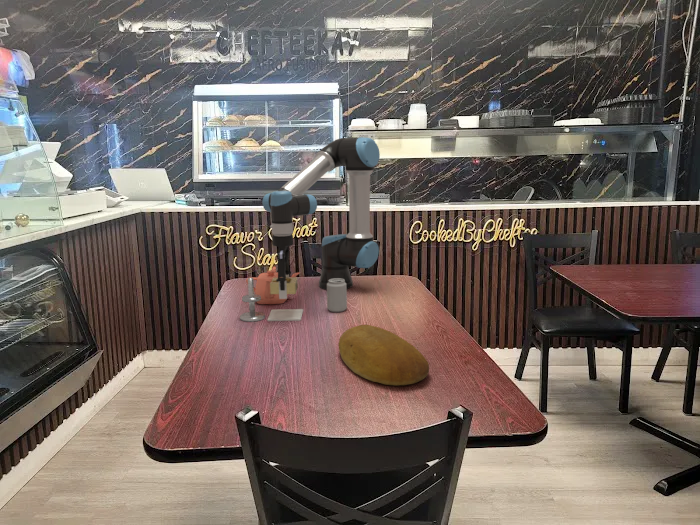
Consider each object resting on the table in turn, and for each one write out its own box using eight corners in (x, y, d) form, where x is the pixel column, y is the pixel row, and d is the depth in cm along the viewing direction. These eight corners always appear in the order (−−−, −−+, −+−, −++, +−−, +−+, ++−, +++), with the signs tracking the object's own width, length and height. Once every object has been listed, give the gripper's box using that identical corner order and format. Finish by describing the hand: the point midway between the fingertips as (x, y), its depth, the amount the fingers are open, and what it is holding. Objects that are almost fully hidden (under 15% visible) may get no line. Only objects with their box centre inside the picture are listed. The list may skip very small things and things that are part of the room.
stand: (266, 313, 198) (264, 275, 195) (263, 321, 189) (261, 281, 186) (242, 314, 198) (240, 275, 195) (238, 322, 189) (235, 281, 186)
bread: (371, 341, 170) (371, 311, 167) (443, 380, 140) (444, 345, 138) (320, 352, 160) (320, 321, 158) (386, 397, 131) (386, 360, 129)
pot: (303, 300, 216) (302, 270, 213) (268, 309, 204) (267, 278, 201) (275, 292, 229) (274, 264, 226) (241, 300, 217) (240, 270, 214)
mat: (303, 310, 202) (303, 309, 201) (300, 320, 190) (300, 319, 190) (271, 311, 201) (271, 309, 201) (267, 321, 190) (267, 319, 190)
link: (297, 287, 198) (297, 277, 197) (295, 293, 189) (295, 283, 188) (273, 287, 198) (273, 277, 197) (270, 294, 189) (270, 283, 188)
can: (344, 313, 197) (344, 282, 195) (325, 312, 199) (324, 281, 196) (348, 307, 205) (348, 277, 202) (329, 306, 206) (329, 277, 203)
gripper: (275, 230, 200) (278, 287, 204) (267, 239, 179) (270, 303, 183) (295, 230, 200) (297, 287, 204) (289, 239, 179) (291, 303, 183)
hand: (284, 294), depth 194 cm, fingers closed on link, 9 cm apart
